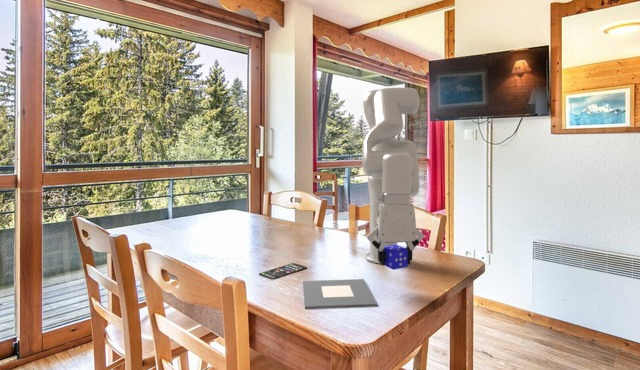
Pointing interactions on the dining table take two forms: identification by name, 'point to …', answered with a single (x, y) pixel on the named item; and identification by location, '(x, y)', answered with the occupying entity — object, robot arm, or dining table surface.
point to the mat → (337, 293)
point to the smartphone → (282, 271)
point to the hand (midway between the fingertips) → (394, 262)
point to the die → (396, 257)
